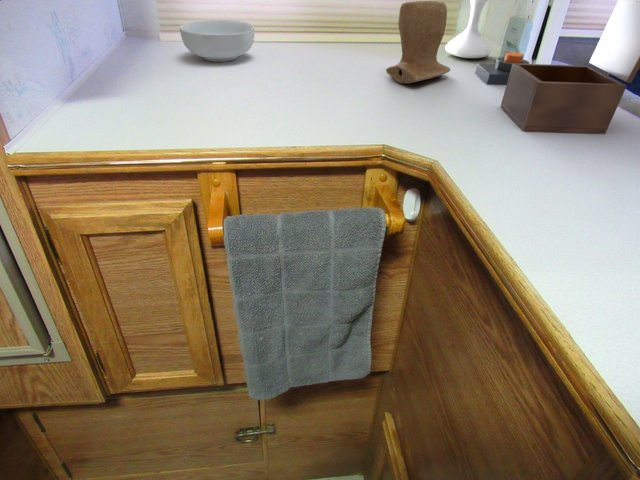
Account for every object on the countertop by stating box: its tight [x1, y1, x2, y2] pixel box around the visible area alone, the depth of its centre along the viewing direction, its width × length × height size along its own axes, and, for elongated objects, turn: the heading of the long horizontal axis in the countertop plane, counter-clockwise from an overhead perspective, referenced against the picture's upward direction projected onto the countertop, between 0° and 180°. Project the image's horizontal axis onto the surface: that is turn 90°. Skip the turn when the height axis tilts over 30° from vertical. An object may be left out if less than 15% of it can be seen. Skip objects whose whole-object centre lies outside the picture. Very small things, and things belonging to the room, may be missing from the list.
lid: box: [588, 0, 640, 84], centre depth 65 cm, size 14×12×1 cm
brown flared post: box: [385, 0, 451, 84], centre depth 89 cm, size 15×12×15 cm
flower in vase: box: [444, 0, 492, 59], centre depth 104 cm, size 13×11×25 cm
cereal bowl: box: [179, 19, 255, 63], centre depth 100 cm, size 17×17×7 cm
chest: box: [499, 63, 628, 135], centre depth 72 cm, size 14×12×8 cm
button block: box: [474, 56, 530, 86], centre depth 93 cm, size 12×9×4 cm
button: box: [504, 51, 524, 63], centre depth 91 cm, size 4×4×2 cm
